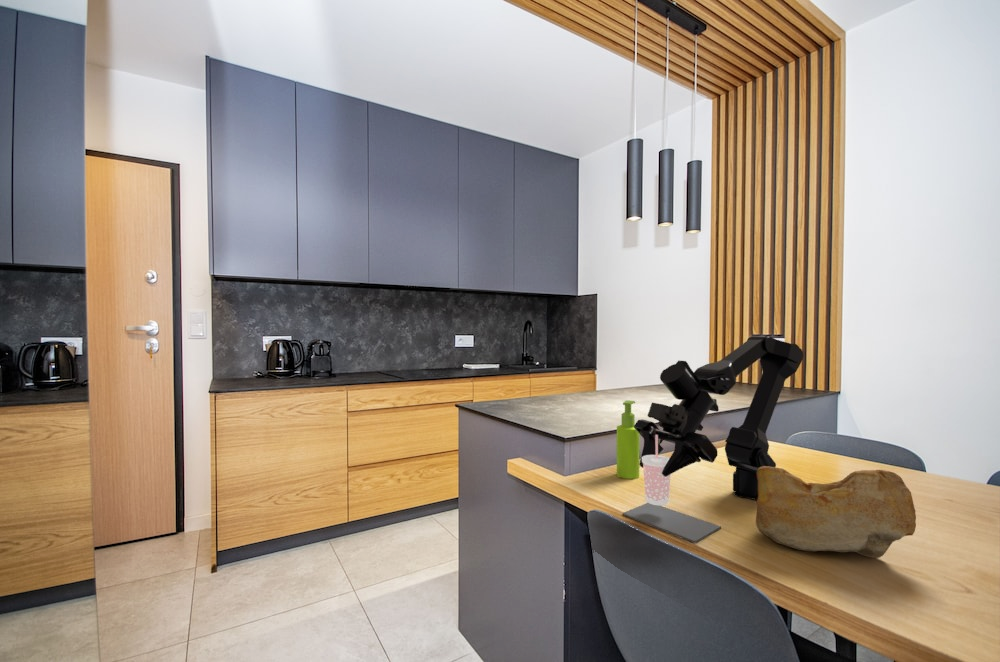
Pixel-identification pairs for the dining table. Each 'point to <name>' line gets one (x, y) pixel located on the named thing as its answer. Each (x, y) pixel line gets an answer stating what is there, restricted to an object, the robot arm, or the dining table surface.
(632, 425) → the soap dispenser
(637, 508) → the mat
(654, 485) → the beverage cup
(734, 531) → the dining table surface
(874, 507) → the rough brown rock
